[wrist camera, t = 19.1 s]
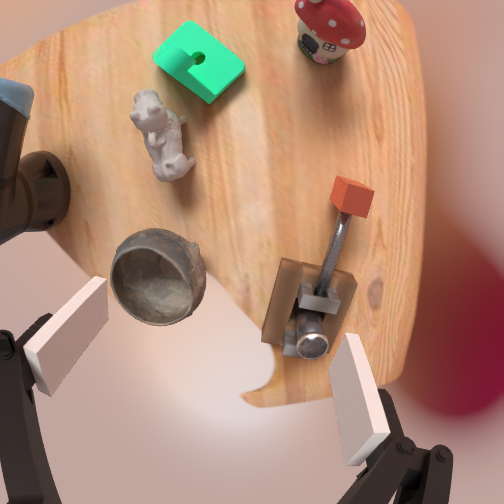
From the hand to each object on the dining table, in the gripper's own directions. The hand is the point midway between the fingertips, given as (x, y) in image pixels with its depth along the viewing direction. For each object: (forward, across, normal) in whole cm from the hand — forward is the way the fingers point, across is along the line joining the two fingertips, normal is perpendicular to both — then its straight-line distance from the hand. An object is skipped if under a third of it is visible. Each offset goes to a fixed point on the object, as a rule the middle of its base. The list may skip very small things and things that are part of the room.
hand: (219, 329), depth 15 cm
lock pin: (+29, +12, -2) cm, 32 cm away
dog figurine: (+32, -14, +7) cm, 36 cm away
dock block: (+32, +12, -15) cm, 37 cm away
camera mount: (+32, -12, +19) cm, 39 cm away
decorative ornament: (+32, +4, +26) cm, 41 cm away
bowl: (+32, -12, -13) cm, 37 cm away
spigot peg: (+32, +12, -15) cm, 37 cm away
